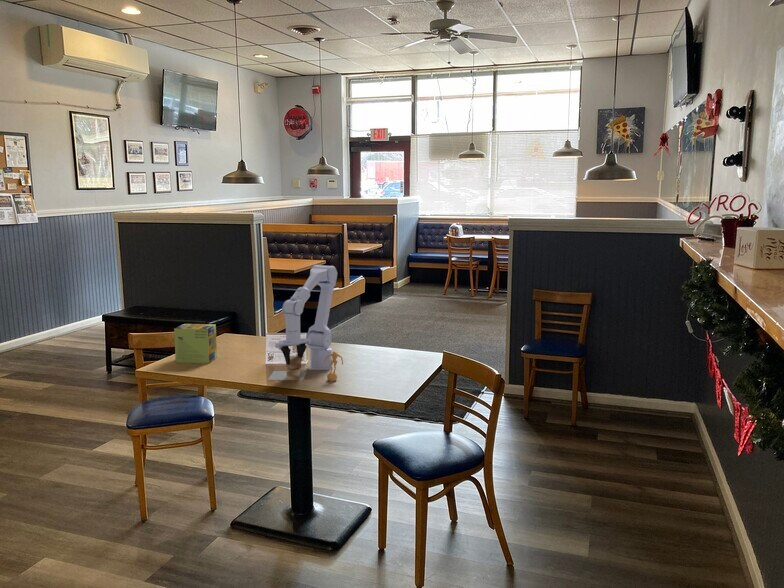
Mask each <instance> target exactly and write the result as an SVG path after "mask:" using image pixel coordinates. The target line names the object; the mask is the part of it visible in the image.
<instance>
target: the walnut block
mask: <svg viewBox="0 0 784 588" xmlns="http://www.w3.org/2000/svg"><path fill="white" fill-rule="evenodd" d="M285 367H286V368H289V369H296V368H301V369H302V361H301V358H300V357H298V356H297V355H290V365H287V364H286V363H285Z"/></svg>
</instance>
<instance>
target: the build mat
mask: <svg viewBox="0 0 784 588" xmlns="http://www.w3.org/2000/svg"><path fill="white" fill-rule="evenodd" d="M307 373H308V371H307V370H306V371H304V370H301V377H300V379H299V380H298V381H304V379H305V377H306V375H307ZM267 381H288V380H287V370H273V372H272V373H271V374H270V375H269V377H268V378H267Z"/></svg>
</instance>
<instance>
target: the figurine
mask: <svg viewBox="0 0 784 588" xmlns="http://www.w3.org/2000/svg"><path fill="white" fill-rule="evenodd" d="M329 356H332V359H333V361H332V360H331V363H330V367H331V370H330V371H329V372H328V373H327V374H326V375H327V376H326V379H327V380H328V381H329V382H336V380H337V379H338V375H337V373H336V371H337V369H336V368H337V363H338V360H337V358H341V359H340V360H341V366H343V365H344V360H343V357H342V355H340V354H339V353H338V352H337V351H333V350H332V354H330V355H328V356H327V358H328V357H329ZM327 358H326V359H325V360H327ZM324 363H325V361H324ZM333 368H334V369H333Z"/></svg>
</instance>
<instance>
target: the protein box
mask: <svg viewBox="0 0 784 588" xmlns="http://www.w3.org/2000/svg"><path fill="white" fill-rule="evenodd" d="M173 330H174V331H173V335H174V352H175V356H174V357H175V363H177V364H178V363H179V364H205V365H206V364H211V362H213V361H215V360H216V359H217V358H218V347H217V345H218V344H217V326H216V323H215V324H213V323H209V324H205V323H184V324H180V325H178V326H177V327H175V328H173Z"/></svg>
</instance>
